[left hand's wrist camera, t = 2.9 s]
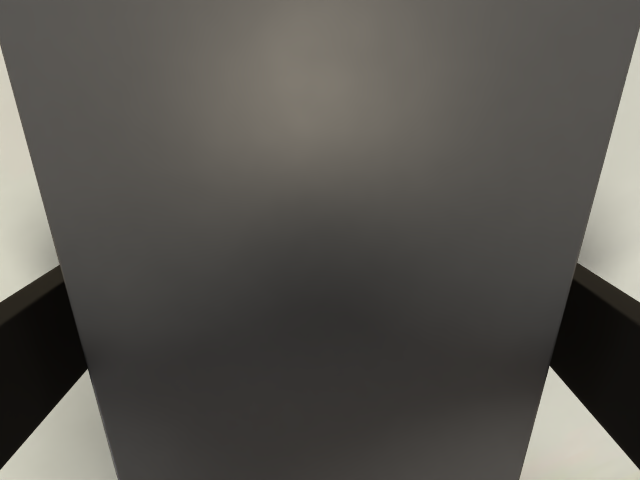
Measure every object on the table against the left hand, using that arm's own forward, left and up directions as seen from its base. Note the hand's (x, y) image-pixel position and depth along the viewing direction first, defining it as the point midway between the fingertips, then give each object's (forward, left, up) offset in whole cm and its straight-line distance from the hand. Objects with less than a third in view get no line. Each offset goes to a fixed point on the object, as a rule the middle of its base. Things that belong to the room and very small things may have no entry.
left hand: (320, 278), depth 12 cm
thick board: (+28, +13, -2) cm, 31 cm away
